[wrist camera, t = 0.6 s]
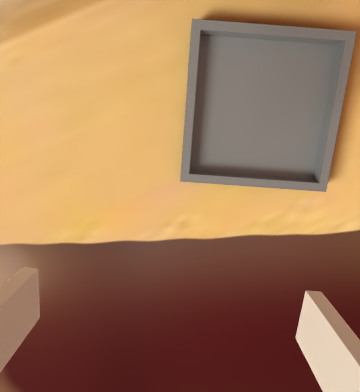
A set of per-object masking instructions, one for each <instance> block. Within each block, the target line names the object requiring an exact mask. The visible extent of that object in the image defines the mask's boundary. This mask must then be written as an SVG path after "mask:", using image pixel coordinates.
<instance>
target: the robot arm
mask: <svg viewBox="0 0 360 392" xmlns="http://www.w3.org/2000/svg"><path fill="white" fill-rule="evenodd" d="M39 318H40V310H39V285H38V269H37V268H36V269H35V268H24V267H23V268H21V269H20V270H19V271H18V272H17V273H15V274H14V275H13V276H12V277H11V278H10V279H9V280H8V281H7V282H6V283H5V284H3V286H1V288H0V372H1V371H2V369H3V368H4V366H5V365H6V364H7V362H8V361H9V359H10V358H11V357H12V355H13V354H14V353H15V351H16V350H17V348H18V347H19V346H20V344H21V343H22V341H23V340H24V339H25V337H26V336H27V334H28V333H29V332H30V330H31V329H32V328H33V326H34V325H35V323H36V322H37V321H38V319H39ZM296 340H297V342H298V344H299V346H300V348H301V350H302V352H303V354H304V355H305V358H306V359H307V361H308V363H309V365H310V367H311V369H312V371H313V373H314V375H315V377H316V379H317V381H318V383H319V385H320V387H321V389H322V391H323V392H360V340H359V339H358V337H357V336H356V335H355V334H354V332H353V331H352V330H351V329H350V328H349V326H348V325H347V324H346V322H345V321H344V320H343V319H342V318H341V316H340V315H339V314H338V312H337V311H336V310H335V309H334V307H333V306H332V305H331V303H330V302H329V301H328V300H327V298H326V297H325V296H324V295H323V293H322V292H316V291H306V292H305V296H304V302H303V306H302V310H301V315H300V320H299V325H298V329H297V334H296Z"/></svg>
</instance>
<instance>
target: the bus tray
mask: <svg viewBox="0 0 360 392" xmlns="http://www.w3.org/2000/svg"><path fill="white" fill-rule="evenodd" d="M356 33H357V31H347V30H334V29H320V28H307V27H294V26H281V25H267V24H254V23H241V22H228V21H214V20H201V19H192V27H191V40H190V54H189V68H188V82H187V96H186V110H185V123H184V137H183V151H182V165H181V179H180V181H182V182H196V183H210V184H224V185H238V186H252V187H266V188H280V189H294V190H308V191H322V192H326V189H327V184H328V179H329V174H330V168H331V163H332V158H333V153H334V148H335V142H336V137H337V132H338V127H339V122H340V116H341V111H342V106H343V101H344V96H345V90H346V85H347V80H348V75H349V69H350V64H351V59H352V54H353V49H354V43H355V38H356Z"/></svg>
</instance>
